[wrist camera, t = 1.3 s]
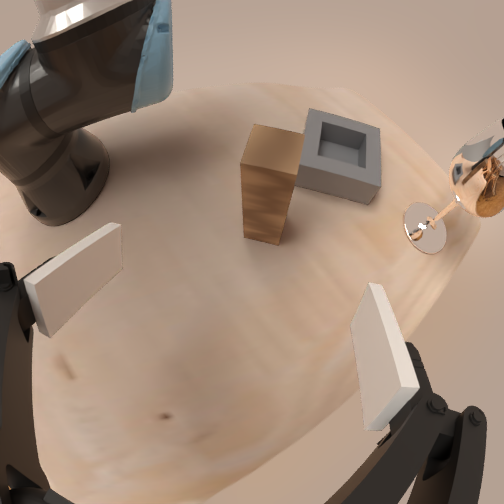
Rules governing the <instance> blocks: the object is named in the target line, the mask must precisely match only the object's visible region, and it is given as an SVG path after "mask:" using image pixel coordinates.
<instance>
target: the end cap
mask: <svg viewBox="0 0 504 504" xmlns="http://www.w3.org/2000/svg"><path fill="white" fill-rule="evenodd" d="M303 134H304V135H305V138H304V143H303V148H302V153H301V158H300V163H299V168H298V173H297V177H296V181H295V186H299V187H303V188H307V189H311V190H315V191H319V192H323V193H326V194H330V195H334V196H338V197H341V198H345V199H349V200H352V201H356V202H359V203H362V204H366V205H368V204H369V202H370V201H371V200H372V198H373V197H374V196H375V194H376V193H377V192H378V190H379V189H380V188H381V146H380V129H379V128H376V127H373V126H370V125H367V124H364V123H361V122H358V121H354V120H351V119H348V118H344V117H341V116H337V115H334V114H330V113H326V112H322V111H318V110H314V109H310V108H309V111H308V115H307V120H306V124H305V129H304V133H303Z"/></svg>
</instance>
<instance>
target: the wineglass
mask: <svg viewBox="0 0 504 504" xmlns="http://www.w3.org/2000/svg"><path fill="white" fill-rule="evenodd" d="M449 184H450V188H451V191H452V194H453V196H454V200H453V201H452V202H451V203H450V204H449V205H448V206H447V207H446V208H445V209H444V210H442V211H441V212H440V213H438V212H437V211H436V210H435V209H434V208H433V207H431V206H430V205H428V204H425V203H421V202H416V203H413V204H411V205H409V206H408V207H407V209H406V211H405V213H404V219H403V222H404V228H405V232H406V234H407V236H408V238H409V239H410V241H411V242H412V244H413V245H414V246H415V247H416V248H417V249H419V250H420V251H422V252H424V253H428V254H435V253H437V252H439V251H440V250H442V248H443V247H444V245H445V243H446V238H447V233H446V227H445V224H444V222H443V219H442V217H444V216H445V215H446V214H447V213H449V212H450V211H451V210H452V209H454V208H455V207H457V206H460V207H461V208H462V209H464V210H465V211H466V212H468V213H469V214H471V215H473V216H477V217H481V218H486V217H492V216H495V215H496V214H498V213H500V212H501V211H503V210H504V118H501V119H499V120H498V121H496V122H495V123H493V124H492V125H490V126H489V127H487V128H486V129H484V130H483V131H481V132H480V133H479V134H477V135H476V136H475V137H473V138H472V139H471V140H470V141H468V142H467V143H466V144H465V145H464V146H463V147H462V148H461V149H460V150H459V151H458V152H457V153H456V155H455V156H454V158H453V160H452V163H451V166H450V169H449Z"/></svg>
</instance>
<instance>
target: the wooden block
mask: <svg viewBox="0 0 504 504" xmlns="http://www.w3.org/2000/svg"><path fill="white" fill-rule="evenodd" d="M304 138H305V135H304V134H300V133H296V132H291V131H287V130H282V129H277V128H272V127H267V126H262V125H256V124H254V126H253V129H252V131H251V134H250V137H249V140H248V143H247V145H246V148H245V151H244V154H243V157H242V160H241V162H240V167H241V188H242V208H243V228H244V237H245V238H249V239H253V240H257V241H261V242H266V243H270V244H274V245H279V242H280V238H281V234H282V231H283V227H284V223H285V219H286V216H287V212H288V208H289V204H290V200H291V197H292V193H293V189H294V185H295V181H296V177H297V173H298V168H299V163H300V158H301V153H302V148H303V143H304Z"/></svg>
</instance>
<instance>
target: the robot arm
mask: <svg viewBox="0 0 504 504" xmlns="http://www.w3.org/2000/svg"><path fill="white" fill-rule="evenodd" d="M34 2H35V4H36V7H37V9H38V12H39V14H40V17H39V21H38V23H37V26H36V28H35V30H34V32H33V35H32V38H31V39H32V42H33V44H34V46H35V48H33V49H31V47H30V45H31V44H30V43H28V42H27V41H26V40H21V41H19V42H17V43H15V44H14V45H13V46H11V47H10V48H9V49H8V50H7V51H6V52H5V53H3V54H2V55H1V56H0V172H1V173H2V174H3V175H4V176H5V177H7V178H8V179H9V180H10V181H11V182H12V183H13V184H14V185H15V186H16V187H17V190H18V192H19V194H20V196H21V197H22V199H23V201H24V203H25V205H26V207H27V209H28V211H29V212H30V213H31V215H32V216H33V217H35V218H36V219H37V220H39V221H40V222H41V223H43V224H45V225H49V226H57V225H61V224H64V223H67V222H69V221H71V220H73V219H74V218H76V217H77V216H79V215H80V214H81V213H82V212H84V211H85V210H86V209H87V208H88V207H89V206H90V205H91V203H92V202H93V201H94V200H95V198H96V197H97V196H98V194H99V193H100V191H101V189H102V187H103V185H104V183H105V181H106V178H107V175H108V171H109V156H108V153H107V151H106V149H105V147H104V146H103V144H102V143H101V141H100V140H99V139H98V138H97V137H96V136H94V135H93V134H91V133H89V132H88V131H86V130H85V129H83V128H82V127H85V126H88V125H90V124H93V123H96V122H99V121H101V120H104V119H107V118H110V117H113V116H116V115H120V114H123V113H126V112H129V111H131V113H134V112H136V110H137V109H140V108H143V107H146V106H150V105H153V104H156V103H159V102H162V101H163V100H165V99H166V98H167V97H168V96H169V95H170V93H171V91H172V88H173V49H172V10H171V0H34ZM122 269H123V263H122V237H121V224H116V223H112V222H110V223H108V224H106V225H105V226H103V227H101V228H100V229H98V230H96V231H95V232H93V233H91V234H90V235H88V236H87V237H85V238H83V239H82V240H80V241H79V242H77V243H76V244H74V245H72V246H71V247H69V248H68V249H66V250H65V251H63V252H62V253H60V254H59V255H57V256H55V257H52V258H50V259H48V260H47V261H45V262H44V263H43V264H42V265H40V266H38V267H37V269H36V268H35V269H34V270H32V271H31V272H30V273H28V274H27V275H26V276H24V277H23V278H21V279H20V280H19V281H18V280H17V276H16V272H15V268H14V265H13V264H12V263H10V262H3V263H0V504H74V503H72V502H71V501H69V500H67V499H66V498H64V497H63V496H61V495H59V494H58V493H56V492H55V491H53V490H52V489H50V486H49V482H48V480H47V478H46V475H45V474H44V472H43V470H42V468H41V466H40V463H39V458H38V452H37V445H36V438H35V430H34V419H33V405H32V346H33V328H32V325H33V324H34V323H35V322H36V323H37V326H38V329H39V332H41V333H42V334H44V335H46V336H47V337H49V338H51V337H52V336H53V335H54V334H55V333H56V332H57V331H58V330H59V329H60V328H61V327H62V326H63V325H64V324H65V323H66V322H67V321H68V320H69V319H70V318H71V317H72V316H73V315H74V314H75V313H76V312H77V311H78V310H79V309H80V308H81V307H82V306H83V305H84V304H85V303H86V302H87V301H88V300H89V299H91V298H92V297H93V296H94V295H95V294H96V293H97V292H98V291H99V290H100V289H101V288H102V287H103V286H104V285H105V284H107V283H108V282H109V281H110V280H111V279H112V278H113V277H114V276H115V275H116V274H118V273H119V272H120V271H121V270H122ZM350 328H351V334H352V340H353V346H354V352H355V358H356V365H357V372H358V379H359V387H360V394H361V403H362V412H363V422H364V430H370V431H382V430H383V429H384V428H385V426H387V425H388V423H389V424H390V432H389V433H388V434H387V435H386V436H385V437H384V438H383V439H382V440H381V441H379V442H378V443H377V444H378V446H377V448H376V449H375V450H374V452H372V454H371V455H370V456H369V457H368V458H367V460H366V461H365V462H364V463H363V464H362V466H360V468H359V469H358V470H357V471H356V472H355V473H354V474H353V475H352V476H351V478H350V479H349V480H348V481H347V482H346V483H345V484H344V485H343V486H342V487H341V488H340V489H339V490H338V491H337V492H336V493H335V494H334V495H333V496H332V497H331V498H330V499H329V500H328V501H327V502H326V503H324V504H398V502H399V501H400V499H401V498H402V497H403V495H404V493H405V492H406V491H407V489H408V488H409V486H410V485H411V483H412V482H413V480H414V478H415V477H416V475H417V477H416V480H415V483H414V486H413V489H412V492H411V495H410V497H409V500H408V502H407V504H478V499H479V494H480V489H481V483H482V476H483V468H484V460H485V449H486V431H487V421H486V417H485V415H484V413H483V412H482V411H481V410H480V409H479V408H478V407H476V406H468V407H467V408H466V409H465V410H464V411H463V412H462V413H459V412H456V411H453V410H450V409H448V405H447V403H446V402H445V400H444V399H443V398H442V397H441V396H439V395H437V394H435V393H433V391H432V388H431V385H430V382H429V379H428V377H427V374H426V371H425V369H424V366H423V363H422V362H421V357H420V355H419V352H418V350H417V349H416V348H415V347H414V345H413V344H412V343H409V342H405V341H404V339H403V336H402V333H401V331H400V328H399V325H398V323H397V320H396V318H395V315H394V313H393V310H392V308H391V305H390V303H389V300H388V298H387V296H386V293H385V291H384V289H383V286H382V285H379V284H375V283H370V282H368V285H367V287H366V290H365V292H364V294H363V297H362V299H361V301H360V304H359V306H358V308H357V311H356V313H355V315H354V317H353V319H352V322H351V324H350ZM8 486H10V488H11V490H9V487H8Z"/></svg>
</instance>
